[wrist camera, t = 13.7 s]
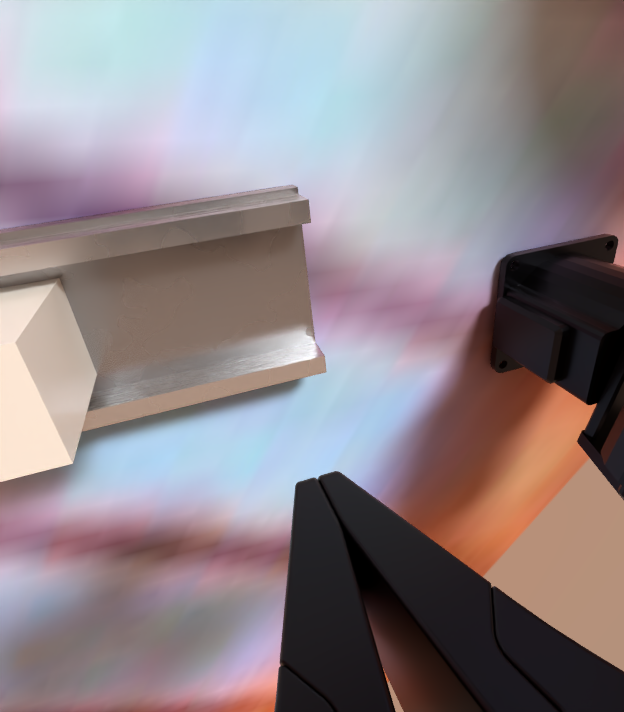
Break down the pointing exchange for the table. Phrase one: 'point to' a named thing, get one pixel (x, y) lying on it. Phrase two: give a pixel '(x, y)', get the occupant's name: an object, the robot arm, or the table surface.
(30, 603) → the table surface
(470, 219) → the table surface
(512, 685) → the robot arm
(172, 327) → the rail
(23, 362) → the block
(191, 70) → the table surface
